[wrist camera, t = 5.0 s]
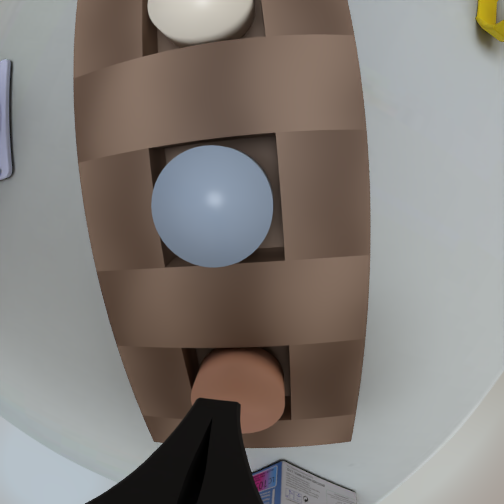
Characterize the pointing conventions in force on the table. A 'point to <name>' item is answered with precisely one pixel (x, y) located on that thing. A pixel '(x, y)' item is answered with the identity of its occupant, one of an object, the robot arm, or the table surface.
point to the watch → (490, 19)
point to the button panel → (284, 205)
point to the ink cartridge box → (298, 487)
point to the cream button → (201, 20)
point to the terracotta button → (244, 384)
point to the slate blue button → (212, 205)
